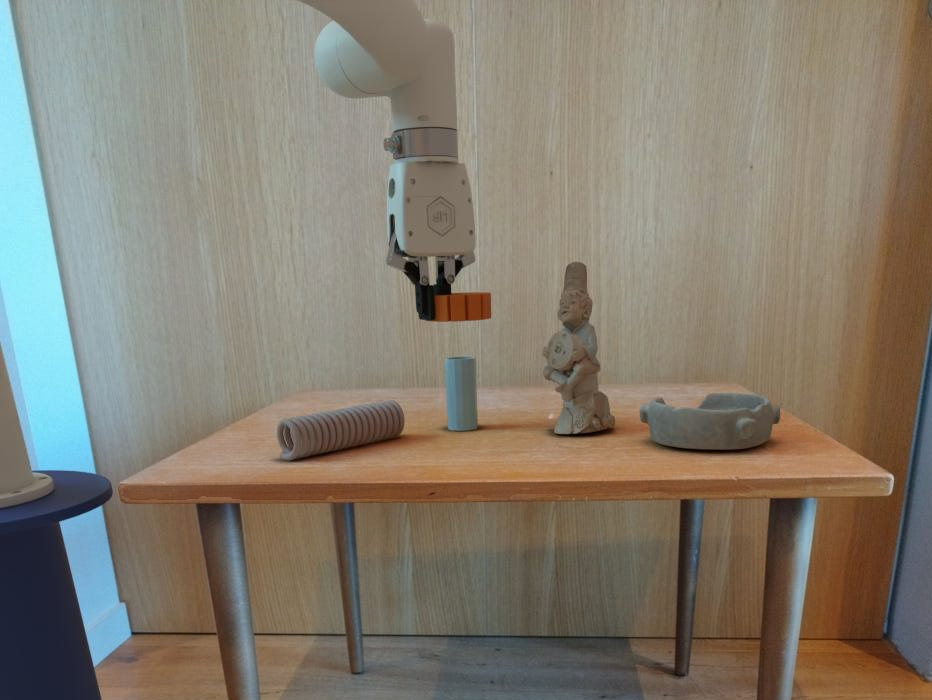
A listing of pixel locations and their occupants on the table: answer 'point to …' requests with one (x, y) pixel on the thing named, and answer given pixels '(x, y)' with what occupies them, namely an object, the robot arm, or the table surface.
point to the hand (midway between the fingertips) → (434, 318)
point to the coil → (339, 429)
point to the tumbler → (461, 393)
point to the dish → (713, 422)
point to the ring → (462, 307)
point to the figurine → (577, 360)
